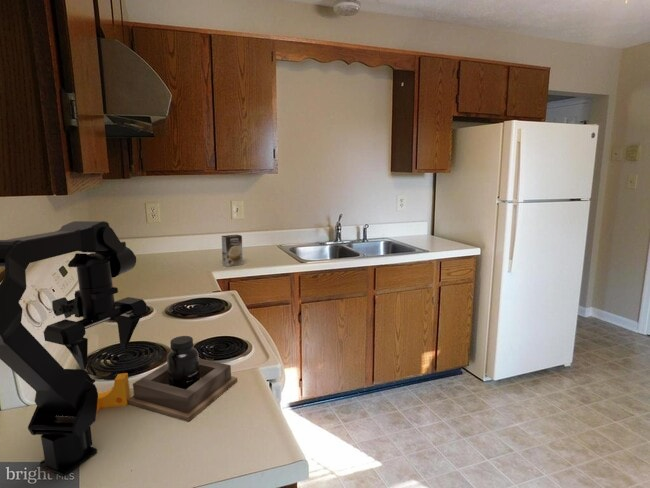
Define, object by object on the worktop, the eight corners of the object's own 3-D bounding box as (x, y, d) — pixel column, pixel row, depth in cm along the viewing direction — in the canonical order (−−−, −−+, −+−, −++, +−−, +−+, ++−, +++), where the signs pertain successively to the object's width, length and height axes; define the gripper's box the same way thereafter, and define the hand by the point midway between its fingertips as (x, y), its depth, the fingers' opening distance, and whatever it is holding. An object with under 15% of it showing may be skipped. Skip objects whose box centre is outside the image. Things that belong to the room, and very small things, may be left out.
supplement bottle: (197, 395, 89) (194, 345, 86) (166, 398, 88) (161, 347, 86) (202, 379, 95) (199, 332, 93) (173, 382, 94) (169, 334, 92)
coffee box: (227, 267, 210) (226, 237, 207) (222, 265, 215) (220, 235, 212) (243, 264, 215) (242, 235, 212) (238, 262, 220) (236, 234, 217)
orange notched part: (63, 417, 83) (59, 388, 82) (72, 405, 88) (68, 378, 86) (124, 410, 85) (121, 383, 84) (130, 399, 90) (127, 373, 88)
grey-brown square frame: (188, 421, 81) (187, 401, 80) (127, 403, 88) (125, 385, 87) (237, 381, 97) (236, 364, 96) (182, 368, 103) (181, 352, 102)
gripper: (108, 269, 89) (115, 334, 92) (18, 293, 73) (31, 372, 75) (145, 274, 85) (152, 342, 88) (59, 300, 68) (71, 384, 71)
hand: (104, 358), depth 81 cm, fingers open, 9 cm apart
